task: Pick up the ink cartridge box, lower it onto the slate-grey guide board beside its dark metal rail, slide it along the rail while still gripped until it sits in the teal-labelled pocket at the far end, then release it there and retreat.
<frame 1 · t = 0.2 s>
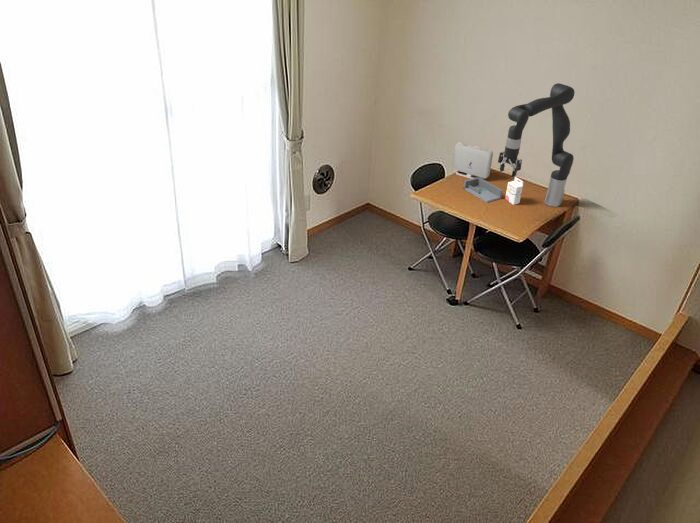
hand: (507, 173, 303), 29 cm above the table, fingers open, 8 cm apart
ink cartridge box: (511, 201, 340), on the table
network device: (469, 175, 371), on the table
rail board: (481, 193, 348), on the table
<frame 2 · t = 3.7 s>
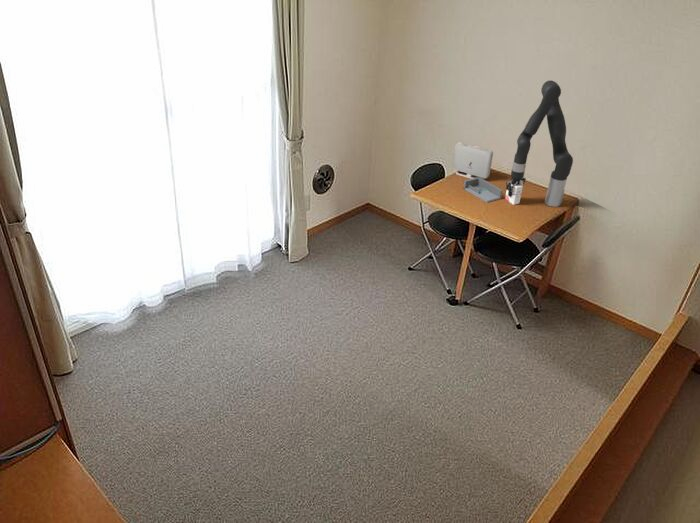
hand: (513, 195, 337), 4 cm above the table, fingers closed on ink cartridge box, 5 cm apart
ink cartridge box: (511, 201, 340), on the table, touching gripper
everything else where it was.
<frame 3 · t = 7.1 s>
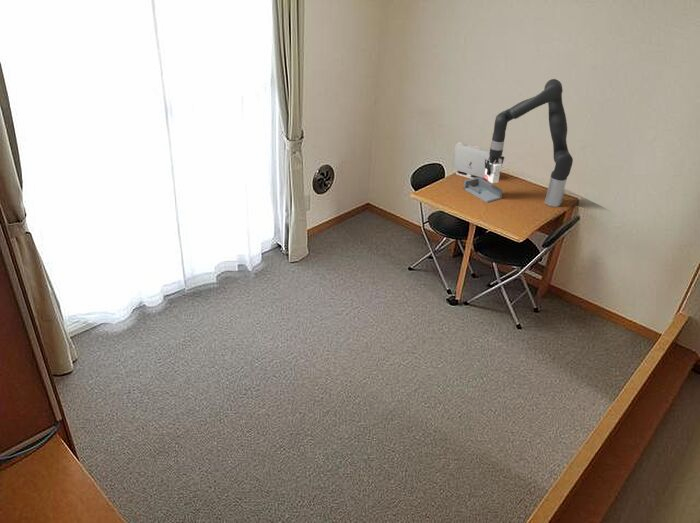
hand: (492, 173, 337), 15 cm above the table, fingers closed on ink cartridge box, 5 cm apart
ink cartridge box: (490, 180, 339), point 11 cm above the table, touching gripper
everything else where it was.
when the fingers open (6 cm above the table, at t = 10.9 s): ink cartridge box stays where it is, resting on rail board.
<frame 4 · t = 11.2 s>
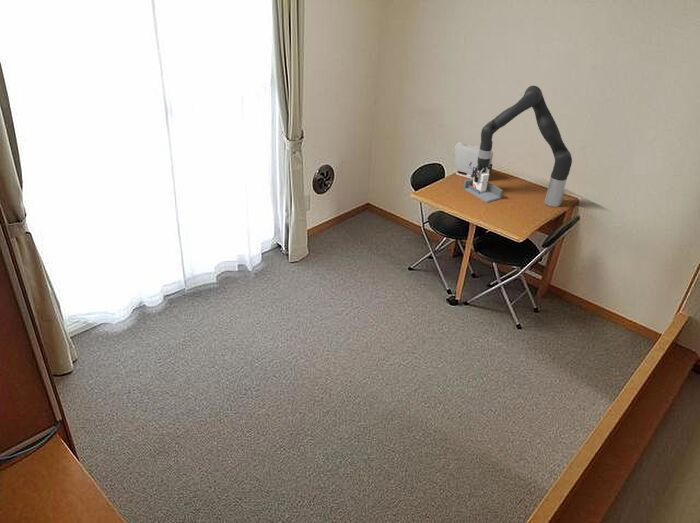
hand: (480, 180, 347), 7 cm above the table, fingers open, 7 cm apart
ink cartridge box: (479, 189, 350), point 1 cm above the table, touching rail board
everything else where it was.
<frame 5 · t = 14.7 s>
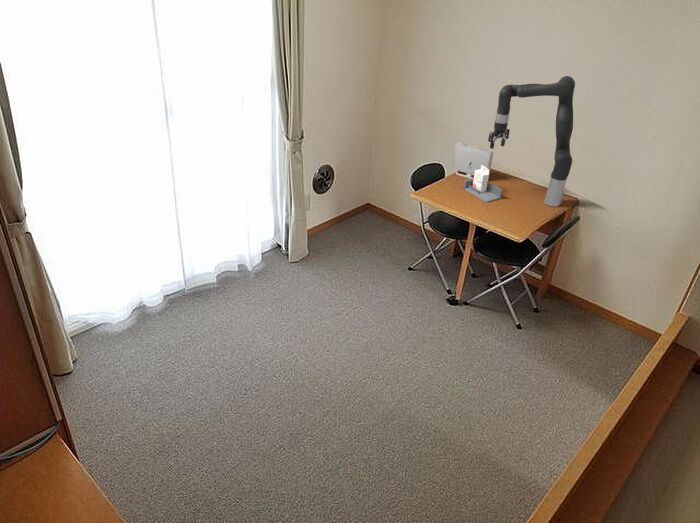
hand: (496, 147, 333), 30 cm above the table, fingers open, 8 cm apart
nothing on the table moved.
at the end: ink cartridge box 0.5 cm from the target spot on the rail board, point 1.0 cm above the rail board's base; ink cartridge box tilted 0°; the gripper is holding nothing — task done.
